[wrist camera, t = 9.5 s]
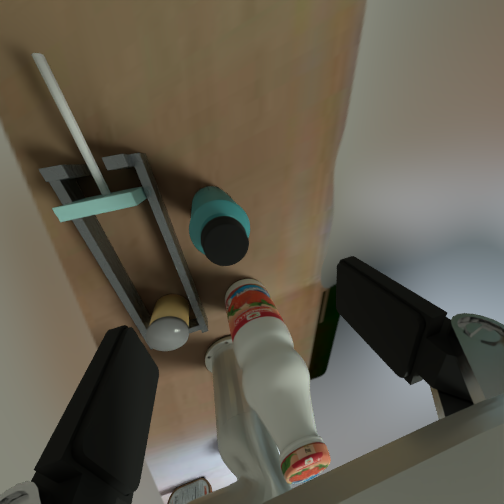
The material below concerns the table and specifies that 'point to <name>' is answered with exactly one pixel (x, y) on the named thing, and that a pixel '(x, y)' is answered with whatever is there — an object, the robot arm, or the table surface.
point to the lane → (102, 248)
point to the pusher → (93, 203)
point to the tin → (190, 491)
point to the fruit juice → (275, 380)
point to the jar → (169, 323)
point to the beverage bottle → (219, 226)
